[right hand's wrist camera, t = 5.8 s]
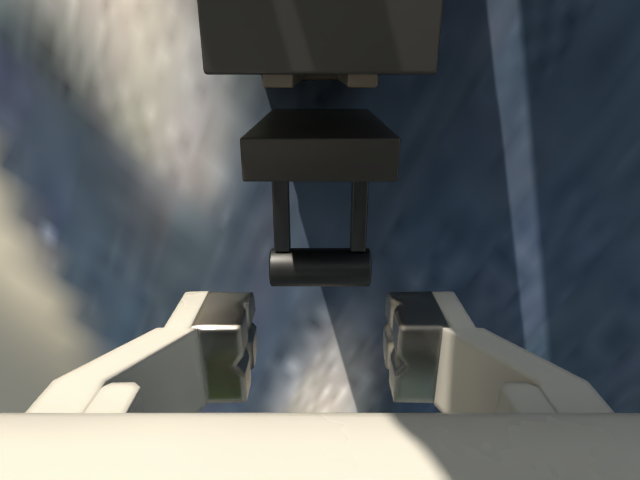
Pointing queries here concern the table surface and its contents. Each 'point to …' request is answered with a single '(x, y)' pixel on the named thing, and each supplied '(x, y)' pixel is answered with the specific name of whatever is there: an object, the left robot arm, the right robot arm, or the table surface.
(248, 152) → the drawer
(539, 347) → the table surface
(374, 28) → the dark rectangular case
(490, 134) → the table surface
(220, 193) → the table surface
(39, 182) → the table surface
